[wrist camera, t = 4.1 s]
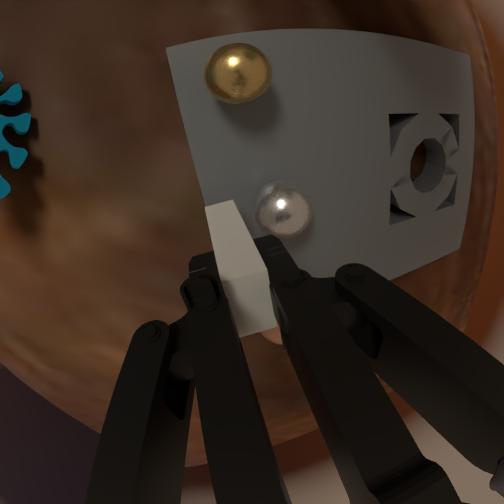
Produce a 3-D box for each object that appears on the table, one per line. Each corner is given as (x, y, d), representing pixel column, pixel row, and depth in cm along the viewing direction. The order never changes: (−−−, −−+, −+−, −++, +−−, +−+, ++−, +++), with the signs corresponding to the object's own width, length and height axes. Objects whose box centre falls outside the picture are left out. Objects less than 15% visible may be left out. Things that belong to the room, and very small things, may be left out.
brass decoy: (196, 56, 11) (198, 42, 9) (256, 45, 12) (274, 32, 9) (208, 111, 13) (214, 112, 10) (267, 99, 13) (287, 98, 11)
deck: (237, 310, 23) (243, 331, 21) (168, 56, 13) (165, 48, 11) (445, 237, 26) (459, 248, 24) (449, 54, 15) (469, 55, 13)
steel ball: (243, 180, 15) (256, 199, 13) (296, 168, 16) (319, 183, 13) (253, 229, 17) (267, 256, 14) (301, 216, 17) (324, 239, 15)
